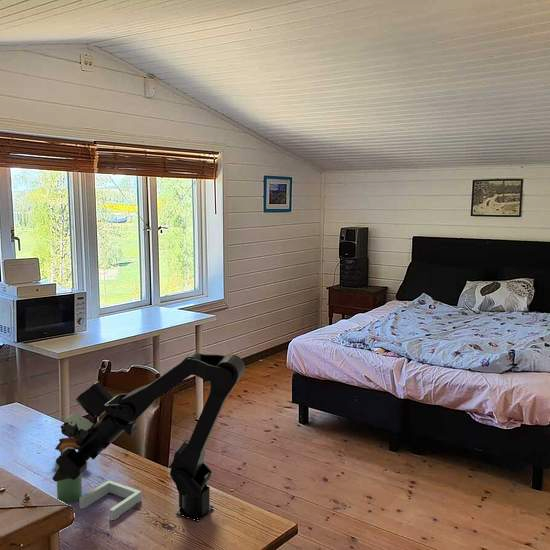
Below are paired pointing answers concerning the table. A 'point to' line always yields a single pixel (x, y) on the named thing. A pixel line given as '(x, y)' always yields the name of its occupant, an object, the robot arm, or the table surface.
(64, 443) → the pottery mug
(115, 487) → the u rest
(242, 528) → the table surface
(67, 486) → the bottle
